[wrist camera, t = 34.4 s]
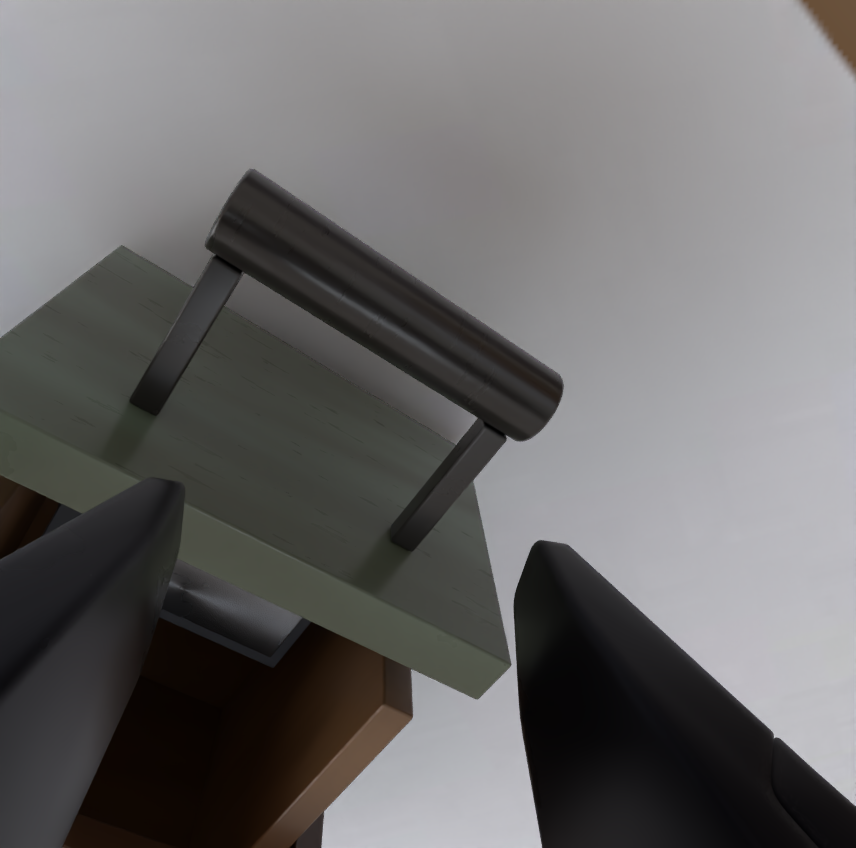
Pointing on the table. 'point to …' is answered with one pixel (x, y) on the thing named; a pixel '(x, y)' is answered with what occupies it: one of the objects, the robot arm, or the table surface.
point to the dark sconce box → (220, 610)
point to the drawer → (271, 507)
